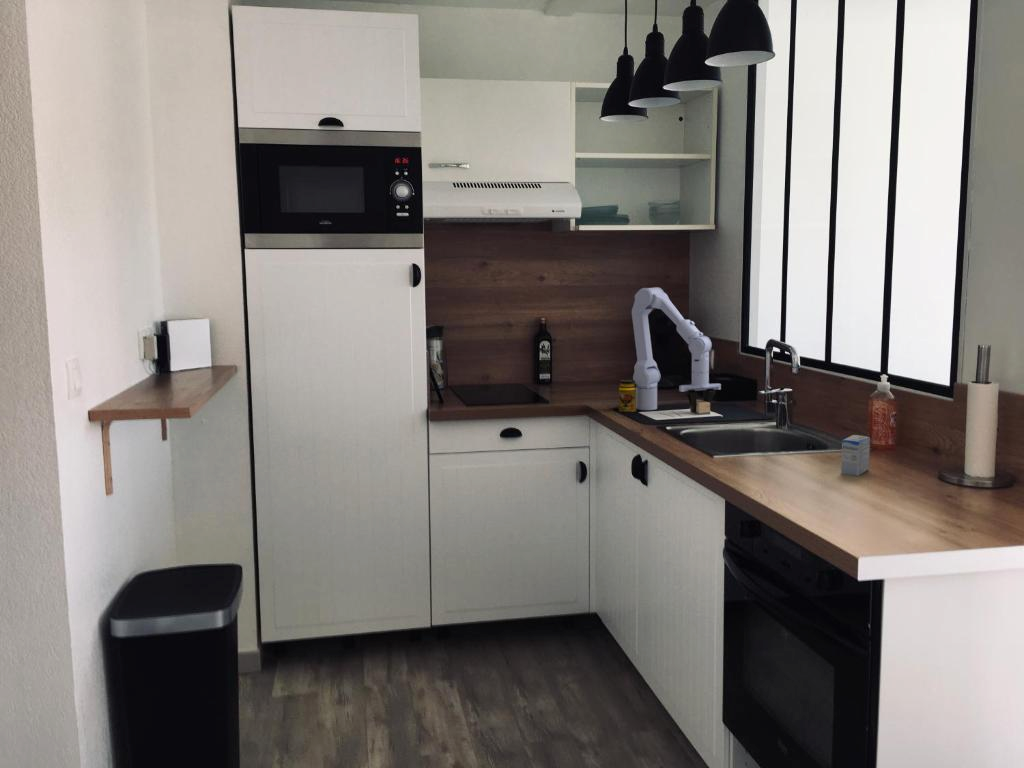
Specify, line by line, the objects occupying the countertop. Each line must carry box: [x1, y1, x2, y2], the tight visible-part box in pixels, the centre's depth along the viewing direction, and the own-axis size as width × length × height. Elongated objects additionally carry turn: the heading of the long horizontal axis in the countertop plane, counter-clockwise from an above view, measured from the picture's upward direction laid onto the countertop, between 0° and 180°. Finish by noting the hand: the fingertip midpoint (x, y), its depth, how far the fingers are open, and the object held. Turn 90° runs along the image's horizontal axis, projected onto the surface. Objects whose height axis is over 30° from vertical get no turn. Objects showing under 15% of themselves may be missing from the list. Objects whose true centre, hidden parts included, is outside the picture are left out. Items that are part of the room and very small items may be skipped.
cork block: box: [689, 399, 711, 415], centre depth 306 cm, size 7×4×4 cm, turn 13°
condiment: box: [618, 379, 637, 413], centre depth 316 cm, size 7×8×12 cm
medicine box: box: [840, 434, 871, 477], centre depth 223 cm, size 8×4×9 cm, turn 141°
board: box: [638, 408, 724, 421], centre depth 306 cm, size 16×24×1 cm, turn 103°
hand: (700, 411), depth 307 cm, fingers closed on cork block, 4 cm apart
